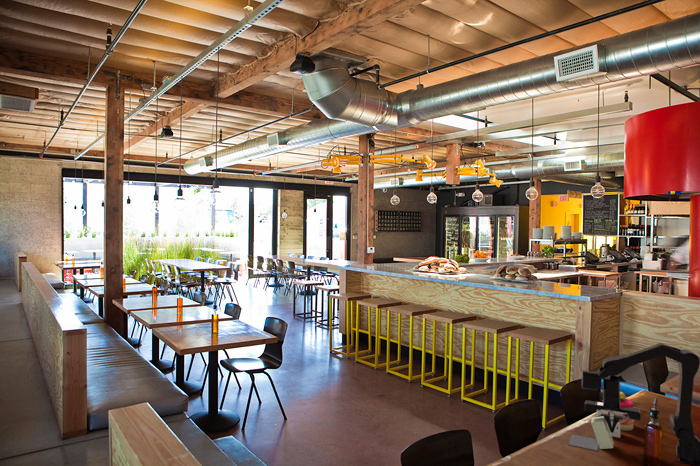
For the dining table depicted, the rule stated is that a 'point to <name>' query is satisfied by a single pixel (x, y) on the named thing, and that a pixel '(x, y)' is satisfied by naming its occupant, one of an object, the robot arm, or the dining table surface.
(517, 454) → the dining table surface
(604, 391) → the robot arm
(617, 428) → the ink box
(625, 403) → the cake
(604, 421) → the block
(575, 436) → the bar mat
